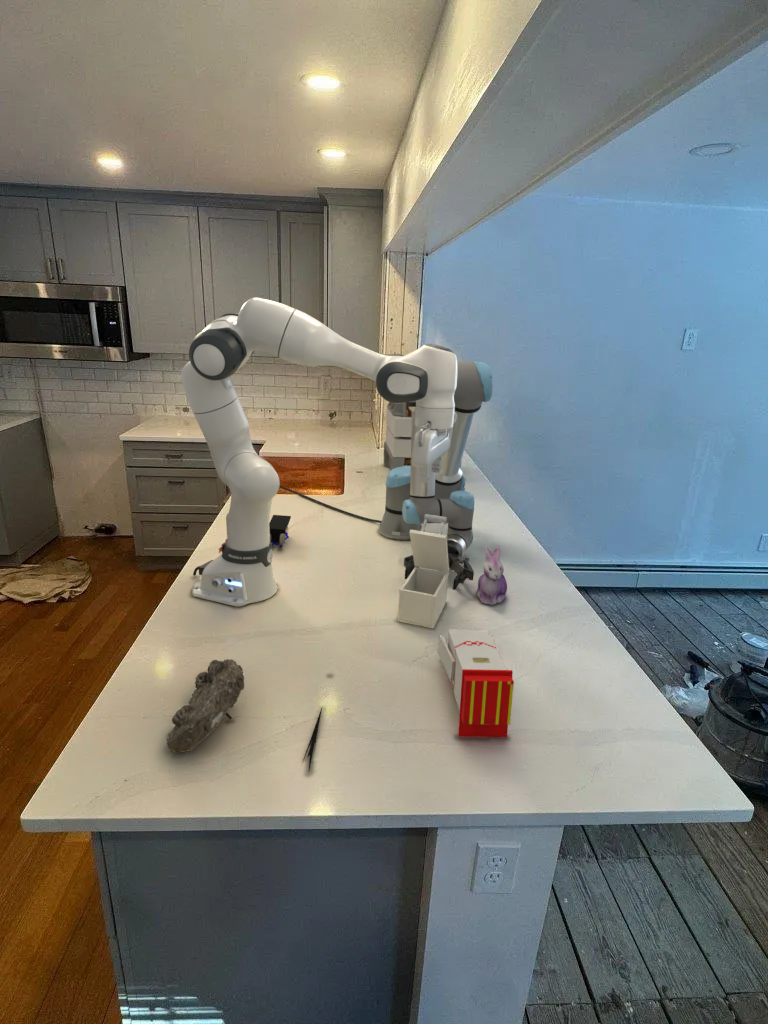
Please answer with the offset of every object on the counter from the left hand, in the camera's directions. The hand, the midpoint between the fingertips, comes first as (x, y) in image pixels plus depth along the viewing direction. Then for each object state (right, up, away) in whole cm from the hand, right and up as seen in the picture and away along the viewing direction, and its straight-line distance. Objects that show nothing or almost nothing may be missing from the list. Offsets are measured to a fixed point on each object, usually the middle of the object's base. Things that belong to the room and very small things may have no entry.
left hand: (430, 476), depth 134 cm
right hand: (+1, -27, +18) cm, 32 cm away
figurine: (+19, -32, +24) cm, 44 cm away
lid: (+1, -19, +12) cm, 23 cm away
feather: (-23, -48, -25) cm, 59 cm away
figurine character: (-46, -19, +54) cm, 73 cm away
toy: (+7, -46, -15) cm, 49 cm away
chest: (-1, -35, +15) cm, 38 cm away
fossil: (-44, -47, -26) cm, 70 cm away
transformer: (+6, +10, +141) cm, 141 cm away
